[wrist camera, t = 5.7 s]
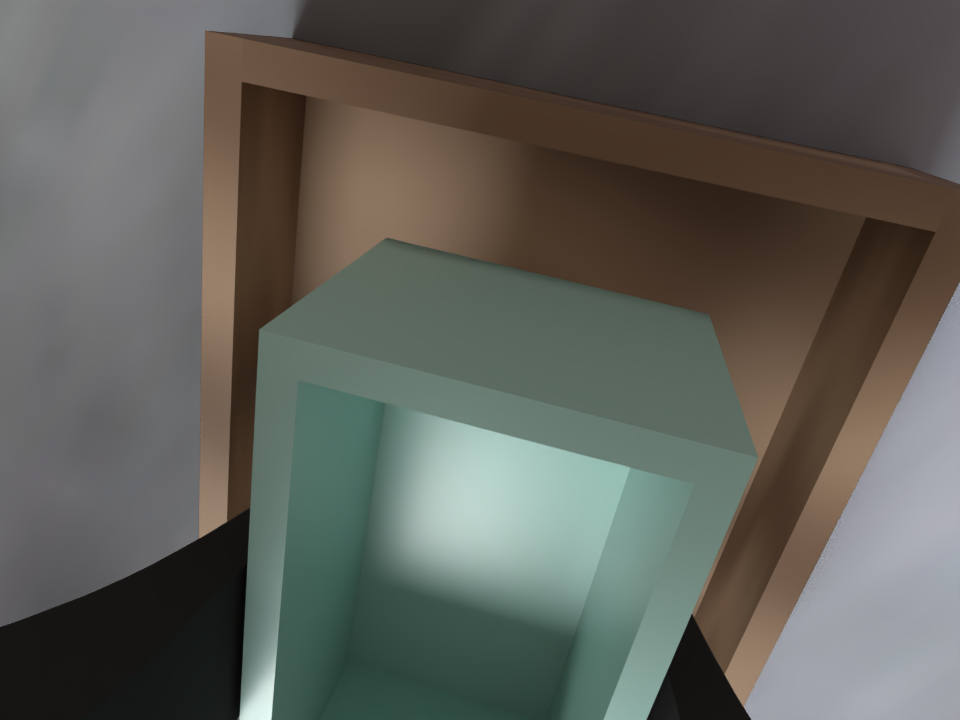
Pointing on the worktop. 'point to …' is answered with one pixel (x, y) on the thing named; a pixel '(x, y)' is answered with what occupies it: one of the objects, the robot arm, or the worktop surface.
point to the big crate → (583, 265)
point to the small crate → (480, 494)
